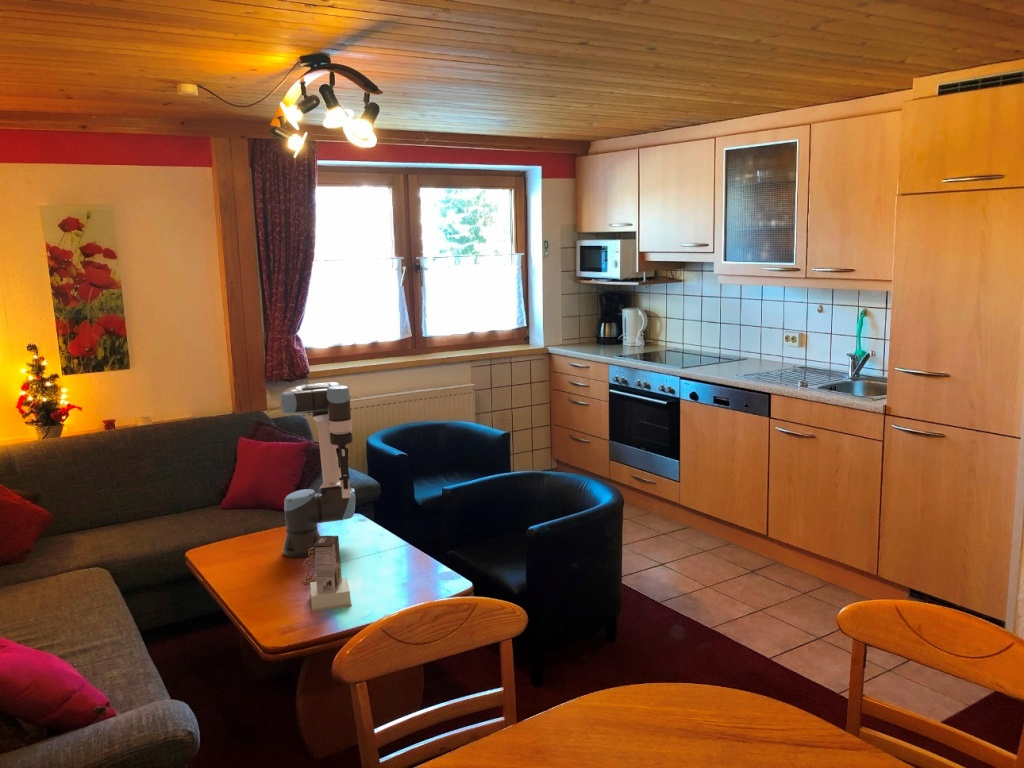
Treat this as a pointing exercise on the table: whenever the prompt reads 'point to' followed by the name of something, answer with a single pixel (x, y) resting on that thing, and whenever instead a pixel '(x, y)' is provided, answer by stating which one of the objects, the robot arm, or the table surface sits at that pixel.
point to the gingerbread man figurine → (310, 578)
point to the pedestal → (330, 597)
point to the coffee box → (327, 564)
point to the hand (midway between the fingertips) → (345, 491)
